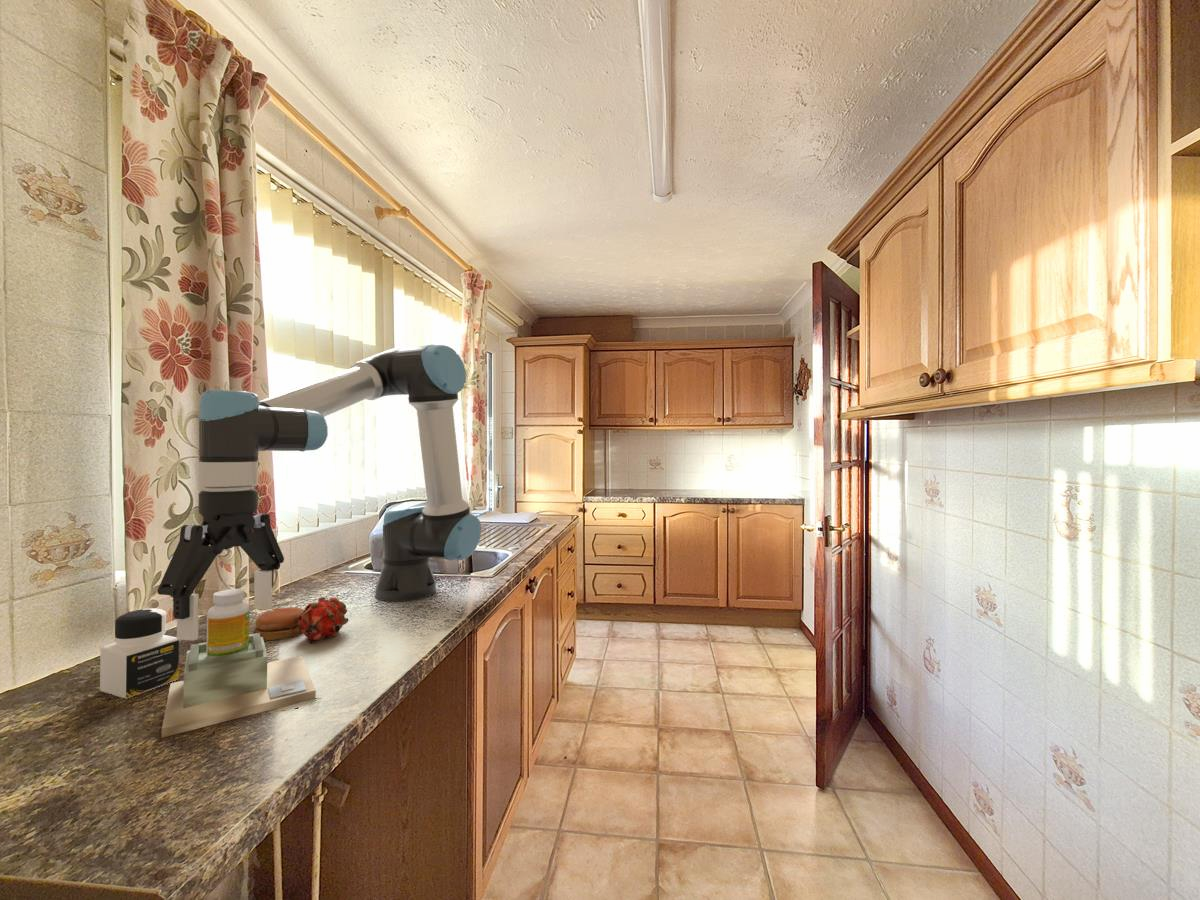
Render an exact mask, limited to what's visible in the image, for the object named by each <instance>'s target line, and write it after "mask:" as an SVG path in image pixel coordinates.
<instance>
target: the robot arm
mask: <svg viewBox="0 0 1200 900" xmlns="http://www.w3.org/2000/svg"><path fill="white" fill-rule="evenodd" d="M466 382H467V372H466V368H465V364H464V362H463V360H462V357H460V355H459V353H457V352H456V350H455V349H453V348H452V347H450V346H447V345H443V344H429V345H428V344H426V345H420V346H419V345H418V346H407V347H396V348H391V349H388V350H385V351H383V352H380V353H377V354H374V355H372V356H369V357H367V358H364V359H361V360H359V361H356V362H354V363H353V364H352V365H351V366H350V368H349V369H347V370H344V371H342V372H338V373H336V374H332V375H330V376H327V377H324V378H321V379H318V380H315V381H313V382H310V383H307V384H304V385H301V386H299V387H298V386H297V387H296V388H293V389H290V390H287V391H284V392H282V393H279V394H274V395H273V396H269V397H267V398H264V399H262V400H259V396H258V394H256V393H254V392H252V391H251V392H250V391H245V390H243V391H242V390H232V389H210V390H209V389H208V390H206V391H203V392H202V393H201V395H200V398H199V406H198V415H197V421H198V461H199V462H198V486H199V487H200V488H202V489H203V490H201V491H199V493H198V514H199V515H200V516H202V522H201V525H199V524H198V525H197V524H195V525H194V524H193V525H192V524H184V525H182V526H181V528H180V533H179V540H178V543H177V546H176V548H175V550H174V552H173V554H172V556H171V558H170V561H169V564H168V566H167V568H166V570H165V571H164V572H165V573H164V575H163V577H162V579H161V581H160V584H159V586H158V589H157V591H156V593H157V594H158V595H162V596H170V597H172V598H173V599H172V605H173V606H172V607H173V608H172V610H173V611H172V616H173V619H176V638H177V640H179V641H181V640H182V641H195V640H199V593H194V591H195V590H196V588H197V587H198V586H199V584H200V582H201V581H202V579H203V578H204V576H205V575H206V574H207V573H206V572H207V571H208V570H209V568H210V567H211V565H212V564H213V562H214V560H215V559H216V558H217V556H218V555H219V554H220V555H221V554H222V553H223V551H224V550H230V549H232V548H234V547H240V548H241V549H242V550H243V551H244V553H245V554H246V555H247V556H248V558H250V560H251V561H252V562H253V563H254V564H255V565H256V566H257V567H258V568H259V569H257V570H254V573H253V575H254V576H253V577H254V578H253V580H254V581H253V583H254V584H253V587H254V588H253V592H254V593H253V595H254V596H253V609H254V610H266V611H269V610H270V609H271V610H272V609H273V592H272V591H273V587H274V584H275V582H274V580H275V578H274V577H275V576H274V574H275V573H274V572H275V570H279V569H280V567H281V564H283V563H284V561H285V556H284V554H283V553H282V550H281V547H280V545H279V543H278V541H277V538H276V535H275V533H274V531H273V528H272V526H271V518H270V514H269V513H256V512H257V511H258V510H259V491H258V490H257V489H255V487H256V486H258V485H259V452H265V451H267V452H268V451H270V452H271V451H272V452H275V451H276V452H295V451H296V452H303V453H304V452H307V451H308V452H309V451H317V450H319V449H320V448H321V447H323V446H324V444H325V443H326V441H327V439H328V434H329V430H328V427H329V425H328V422H327V419H325V417H327V416H330V415H331V414H333V413H336V412H338V411H341V410H343V409H346V408H347V407H350V406H352V405H355V404H357V403H359V402H361V401H364V400H367V401H375V400H377V399H380V398H383V397H387V396H399V395H400V396H401V395H407V399H408V404H410V405H411V407H413V408H414V409H415V410H416V417H417V424H418V435H419V442H420V443H419V444H420V451H421V459H422V468H423V477H424V485H425V493H426V501H427V502H426V503H427V504H426V505H420V506H410V507H402V508H395V509H390V510H387V511H386V512H385V513H384V515H383V524H382V568H381V571H380V574H379V576H378V580H377V582H376V585H375V589H374V590H375V594H374V596H375V598H376V599H378V600H381V601H387V602H406V601H414V600H418V599H419V600H420V599H425V598H427V597H430V596H432V595H433V594H435V593H436V591H437V590H436V589H437V584H436V579H435V576H434V573H433V570H432V568H431V564H430V558H432V559H440V560H447V561H464V560H465V559H468V558H470V557H471V555H472V554H474V552H475V551H476V549H477V547H478V546H479V543H480V539H481V536H482V524H481V521H480V519H479V518H478V516H476V515H474V514H472V513H471V511H470V503H469V502H467V501H465V499H463V492H462V483H461V482H462V481H461V474H460V463H459V453H458V444H457V436H456V427H455V425H456V424H455V417H454V415H455V414H454V406H455V405H456V403H457V401H458V400H459V395H458V393H460V392H461V391H462V390H463V389H464V387H465V383H466Z"/></svg>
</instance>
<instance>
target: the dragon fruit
mask: <svg viewBox="0 0 1200 900" xmlns="http://www.w3.org/2000/svg"><path fill="white" fill-rule="evenodd" d="M347 612H348V609H347V605H346V604H345V603H344V602H343V601H341V600H339V598H337V597H335V596H334V597H330V598H328V599H326V598H325V597H324V596H323V597H319V598H318V601H317V602H312V603H308V604H306V606H305V608H304V611H303V613H302V614H301V615H300V617H299V619H298V623H299V631H302V633H301V634H303V635H304V636H305V637H306V638H307V641H308V643H309V644H311V643H313V642H318V641H320V640H323V639H325V637H326V636H328V637H329V638H332V639H333V638H334V637H335V636H337V635H338V634H339V633H340V630H341V629H342V628H343V626H344V625H346V624H347V623H348V622H349V618H348V617H345V616H346V614H347Z"/></svg>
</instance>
